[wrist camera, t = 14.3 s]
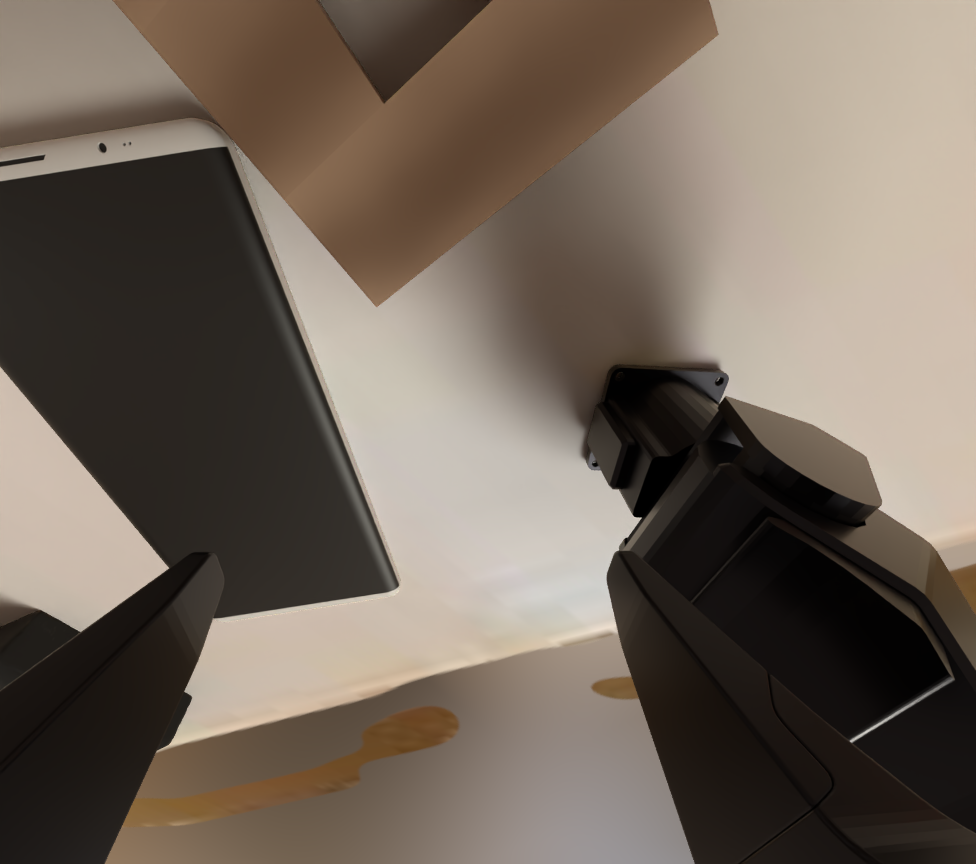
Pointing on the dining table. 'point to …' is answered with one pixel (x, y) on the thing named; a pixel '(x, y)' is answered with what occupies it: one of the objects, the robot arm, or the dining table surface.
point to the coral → (37, 637)
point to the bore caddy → (415, 110)
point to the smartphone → (183, 363)
